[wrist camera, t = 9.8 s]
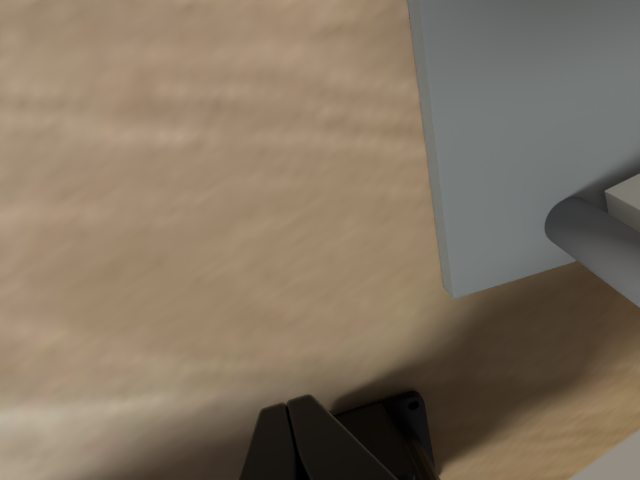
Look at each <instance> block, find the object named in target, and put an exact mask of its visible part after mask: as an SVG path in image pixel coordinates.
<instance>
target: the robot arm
mask: <svg viewBox="0 0 640 480" xmlns="http://www.w3.org/2000/svg"><path fill="white" fill-rule="evenodd" d="M412 401H414V402H413V403H412V404H410V403H411V402H412ZM237 480H440V478H439V476H438V474H437V472H436V470H435V466H434V460H433V454H432V448H431V442H430V435H429V429H428V423H427V417H426V411H425V405H424V401H423V399H422V397H421V395H420V393H418V392H417V391H408V392H405V393H402V394H399V395H396V396H393V397H390V398H387V399H384V400H381V401H377V402H374V403H371V404H368V405H365V406H362V407H359V408H356V409H353V410H349V411H346V412H343V413H340V414H337V415H334V416H332V415H331V414H330V413H329V412H328V411H327V410H326V409H325V408H324V407H323V406H322V405H321V404H320V403H319V402H318V401H317V400H316V399H315V398H314V397H313V396H312V395H309V394H307V395H303V396H300V397H297V398H294V399H291V400H289V401H288V402H287V406H286V404H285V403H278V404H275V405H272V406H268V407H265V408H263V409H262V410H261V411H260V413H259V416H258V419H257V422H256V425H255V428H254V431H253V434H252V437H251V440H250V443H249V446H248V449H247V452H246V455H245V458H244V461H243V464H242V467H241V470H240V473H239V476H238V479H237Z"/></svg>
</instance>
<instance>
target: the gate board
mask: <svg viewBox="0 0 640 480" xmlns="http://www.w3.org/2000/svg"><path fill="white" fill-rule="evenodd" d="M408 8H409V16H410V24H411V32H412V40H413V48H414V56H415V64H416V72H417V80H418V88H419V96H420V104H421V112H422V120H423V128H424V136H425V144H426V152H427V160H428V168H429V176H430V184H431V192H432V200H433V208H434V216H435V224H436V232H437V240H438V248H439V256H440V264H441V272H442V280H443V287H444V288H445V290H446V291H447V292H448V293H449V294H450V296H451V297H452V298H453V299H456V298H459V297H463V296H466V295H469V294H472V293H476V292H479V291H482V290H485V289H489V288H492V287H495V286H498V285H502V284H505V283H508V282H511V281H515V280H518V279H521V278H524V277H528V276H531V275H534V274H537V273H541V272H544V271H547V270H550V269H554V268H557V267H560V266H563V265H567V264H570V263H573V262H576V261H578V262H579V263H581V264H582V265H583V266H585V267H586V268H587V269H589V270H590V271H591V272H593V273H594V274H595V275H597V276H598V277H599V278H601V279H602V280H603V281H605V282H606V283H607V284H609V285H610V286H611V287H613V288H614V289H615V290H617V291H618V292H619V293H621V294H622V295H623V296H625V297H626V298H627V299H629V300H630V301H631V302H633V303H634V304H635V305H637V306H638V307H639V308H640V232H638V231H637V230H635V229H633V228H631V227H630V226H628V225H626V224H625V223H623V222H621V221H620V220H618V219H616V218H614V217H613V216H611V215H609V214H608V208H607V203H606V197H605V192H604V191H605V190H607V189H609V188H611V187H613V186H615V185H617V184H619V183H621V182H623V181H625V180H627V179H629V178H632V177H634V176H636V175H638V174H640V0H408Z"/></svg>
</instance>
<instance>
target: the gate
mask: <svg viewBox="0 0 640 480" xmlns="http://www.w3.org/2000/svg"><path fill="white" fill-rule="evenodd" d="M604 192H605V197H606V203H607V208H608V214H609V215H611V216H613V217H614V218H616V219H618V220H620V221H621V222H623V223H625V224H626V225H628V226H630V227H631V228H633V229H635V230H637V231H638V232H640V174H638V175H636V176H634V177H632V178H629V179H627V180H625V181H623V182H621V183H619V184H617V185H615V186H613V187H611V188H609V189H607V190H605V191H604Z"/></svg>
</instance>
